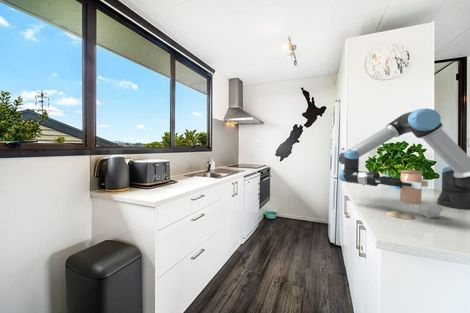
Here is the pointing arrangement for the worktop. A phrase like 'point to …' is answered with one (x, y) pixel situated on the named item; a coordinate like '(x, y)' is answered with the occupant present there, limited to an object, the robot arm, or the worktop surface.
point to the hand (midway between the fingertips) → (424, 184)
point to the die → (430, 209)
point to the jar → (411, 193)
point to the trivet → (400, 215)
